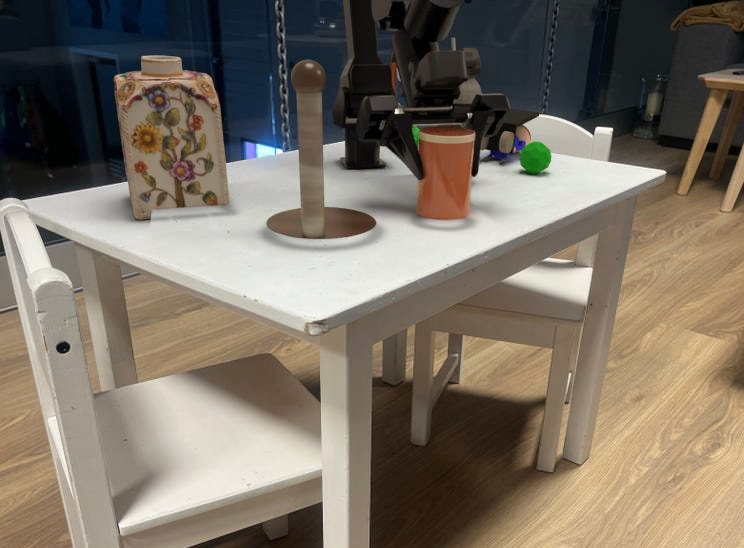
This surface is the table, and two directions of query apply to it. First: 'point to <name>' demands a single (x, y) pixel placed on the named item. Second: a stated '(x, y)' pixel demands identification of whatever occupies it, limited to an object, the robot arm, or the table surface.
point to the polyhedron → (535, 157)
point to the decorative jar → (170, 137)
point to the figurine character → (509, 135)
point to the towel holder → (314, 169)
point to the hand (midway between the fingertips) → (448, 176)
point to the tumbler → (445, 172)
